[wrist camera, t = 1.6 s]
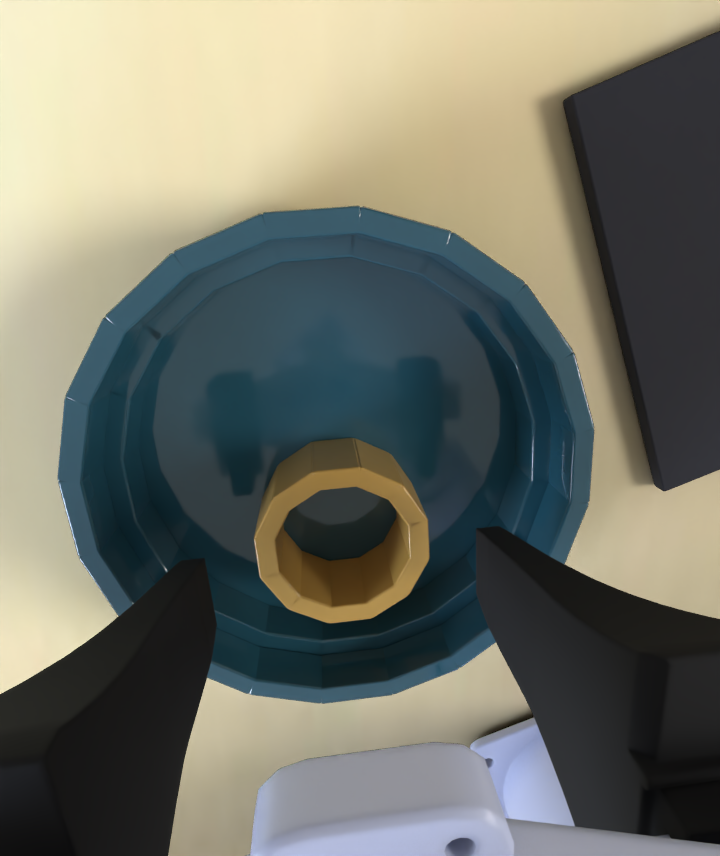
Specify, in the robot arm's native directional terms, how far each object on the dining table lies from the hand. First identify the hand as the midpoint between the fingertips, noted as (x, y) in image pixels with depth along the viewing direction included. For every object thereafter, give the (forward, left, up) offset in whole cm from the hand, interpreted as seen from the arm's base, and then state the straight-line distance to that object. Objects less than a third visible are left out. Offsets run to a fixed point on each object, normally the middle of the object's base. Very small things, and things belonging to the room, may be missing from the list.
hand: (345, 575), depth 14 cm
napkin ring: (0, 0, -4) cm, 4 cm away
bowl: (+2, -1, -5) cm, 5 cm away
